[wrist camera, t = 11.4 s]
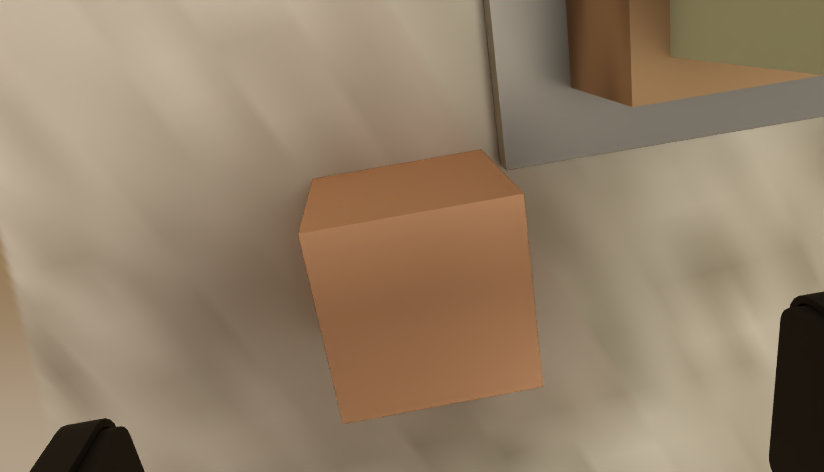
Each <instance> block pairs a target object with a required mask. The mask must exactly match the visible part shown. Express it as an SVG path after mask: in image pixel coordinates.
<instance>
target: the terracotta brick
mask: <svg viewBox="0 0 824 472" xmlns="http://www.w3.org/2000/svg"><path fill="white" fill-rule="evenodd" d="M298 236H299V240H300V244H301V248H302V253H303V257H304V261H305V265H306V270H307V274H308V278H309V282H310V287H311V291H312V295H313V299H314V304H315V308H316V312H317V316H318V321H319V325H320V329H321V333H322V338H323V342H324V346H325V350H326V355H327V359H328V363H329V367H330V372H331V376H332V380H333V384H334V389H335V393H336V397H337V401H338V406H339V410H340V414H341V418H342V423H343V424H346V423H352V422H357V421H362V420H368V419H373V418H379V417H384V416H389V415H395V414H400V413H405V412H411V411H416V410H421V409H427V408H432V407H437V406H443V405H448V404H453V403H459V402H464V401H469V400H475V399H480V398H485V397H491V396H496V395H501V394H507V393H512V392H517V391H523V390H528V389H533V388H539V387H543V381H542V371H541V361H540V351H539V341H538V331H537V321H536V311H535V301H534V291H533V281H532V271H531V261H530V251H529V241H528V231H527V221H526V211H525V201H524V193H523V192H522V191H521V190H520V189H519V188H518V187H517V186H516V185H515V184H514V183H513V182H512V181H511V180H510V179H509V178H508V177H507V176H506V175H505V174H504V173H503V172H502V171H501V170H500V169H499V168H498V167H497V166H496V165H495V163H494V162H493V161H492V160H491V159H490V158H489V157H488V156H487V155H486V154H485V153H484V152H483V151H482V150H475V151H470V152H464V153H458V154H453V155H447V156H441V157H435V158H430V159H424V160H418V161H413V162H407V163H401V164H396V165H390V166H384V167H378V168H373V169H367V170H361V171H356V172H350V173H344V174H338V175H333V176H327V177H321V178H316V179H313V180H312V184H311V187H310V191H309V195H308V199H307V202H306V206H305V210H304V214H303V217H302V221H301V225H300V229H299V232H298Z"/></svg>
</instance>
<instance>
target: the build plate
mask: <svg viewBox="0 0 824 472" xmlns="http://www.w3.org/2000/svg"><path fill="white" fill-rule="evenodd" d="M483 2H484V12H485V21H486V31H487V40H488V50H489V59H490V69H491V79H492V88H493V98H494V107H495V117H496V127H497V136H498V146H499V155H500V164H501V165H502V166H503V167H504V168H505V169H506V170H511V169H517V168H523V167H529V166H534V165H540V164H546V163H552V162H558V161H564V160H570V159H576V158H582V157H588V156H593V155H599V154H605V153H611V152H617V151H623V150H629V149H635V148H641V147H647V146H652V145H658V144H664V143H670V142H676V141H682V140H688V139H694V138H700V137H706V136H712V135H717V134H723V133H729V132H735V131H741V130H747V129H753V128H759V127H765V126H770V125H776V124H782V123H788V122H794V121H800V120H806V119H812V118H818V117H824V75H822V76H816V77H810V78H804V79H798V80H792V81H786V82H780V83H774V84H768V85H762V86H756V87H750V88H744V89H738V90H732V91H726V92H720V93H714V94H708V95H702V96H696V97H690V98H684V99H678V100H672V101H666V102H660V103H654V104H649V105H643V106H637V107H630V106H627V105H624V104H621V103H618V102H614V101H611V100H608V99H605V98H602V97H599V96H596V95H592V94H589V93H586V92H583V91H580V90H577V89H574V88H571V79H570V63H569V46H568V30H567V14H566V0H483Z"/></svg>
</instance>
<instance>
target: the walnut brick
mask: <svg viewBox="0 0 824 472" xmlns="http://www.w3.org/2000/svg"><path fill="white" fill-rule="evenodd" d="M566 14H567V30H568V46H569V63H570V79H571V88H574V89H577V90H580V91H583V92H586V93H589V94H592V95H596V96H599V97H602V98H605V99H608V100H611V101H614V102H618V103H621V104H624V105H627V106H630V107H637V106H643V105H649V104H654V103H660V102H666V101H672V100H678V99H684V98H690V97H696V96H702V95H708V94H714V93H720V92H726V91H732V90H738V89H744V88H750V87H756V86H762V85H768V84H774V83H780V82H786V81H792V80H798V79H804V78H810V77H816V76H822V75H816V74H808V73H800V72H791V71H783V70H775V69H767V68H758V67H750V66H742V65H733V64H725V63H717V62H708V61H700V60H692V59H684V58H675V57H670V0H566Z"/></svg>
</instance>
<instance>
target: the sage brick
mask: <svg viewBox="0 0 824 472" xmlns="http://www.w3.org/2000/svg"><path fill="white" fill-rule="evenodd" d="M670 57H675V58H684V59H692V60H700V61H708V62H717V63H725V64H733V65H742V66H750V67H758V68H767V69H775V70H783V71H791V72H800V73H808V74H816V75H824V0H670Z"/></svg>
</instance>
